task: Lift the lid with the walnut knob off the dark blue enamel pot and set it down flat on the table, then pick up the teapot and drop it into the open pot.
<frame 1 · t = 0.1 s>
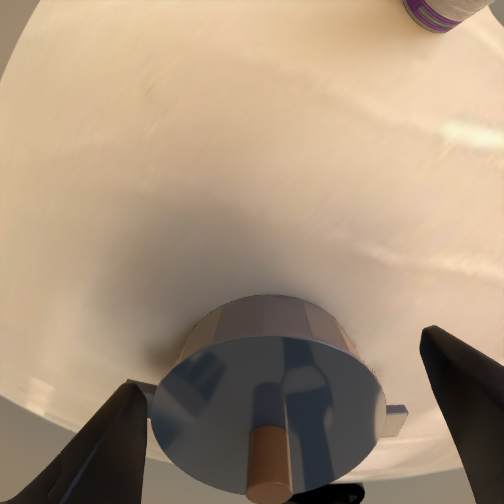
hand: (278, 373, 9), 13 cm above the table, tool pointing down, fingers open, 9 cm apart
container: (427, 10, 17), on the table
lid: (268, 432, 18), point 6 cm above the table, touching pot
pot: (268, 374, 24), on the table
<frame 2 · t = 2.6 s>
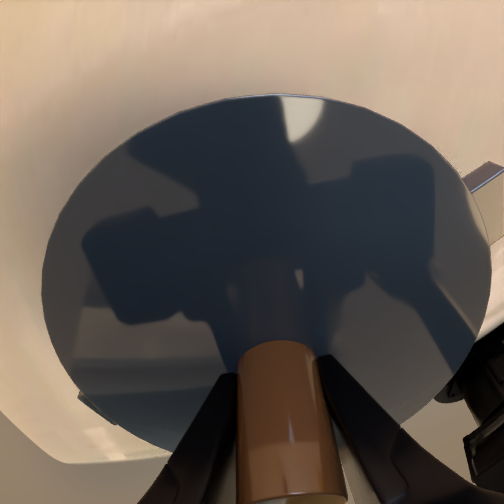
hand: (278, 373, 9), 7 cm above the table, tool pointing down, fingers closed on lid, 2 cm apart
lid: (276, 356, 10), point 7 cm above the table, touching gripper, pot
pot: (264, 256, 15), on the table
when the fingers open (1 cm above the table, at t = 8.3 s): lid stays where it is, point 1 cm above the table.
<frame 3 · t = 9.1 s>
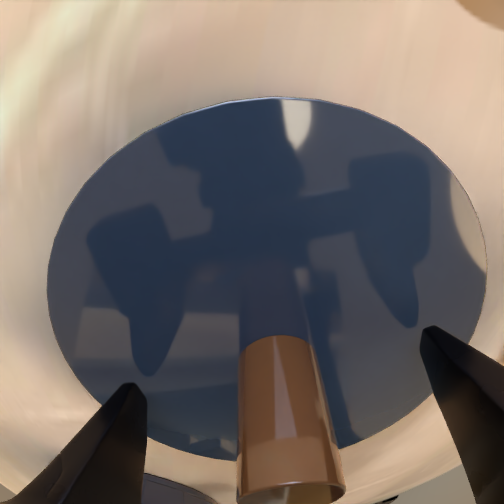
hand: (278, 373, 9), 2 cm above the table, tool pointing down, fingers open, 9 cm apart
lid: (276, 351, 10), point 1 cm above the table
pot: (134, 496, 19), on the table
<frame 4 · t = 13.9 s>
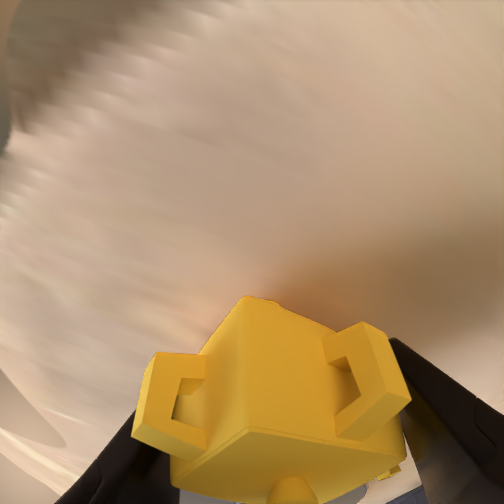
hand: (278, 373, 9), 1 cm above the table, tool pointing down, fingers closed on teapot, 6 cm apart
teapot: (292, 342, 10), on the table, touching gripper
pot: (434, 493, 21), on the table
when the fingers open (3 cm above the table, at t = 20.4 s): teapot drops 2 cm, resting on pot.
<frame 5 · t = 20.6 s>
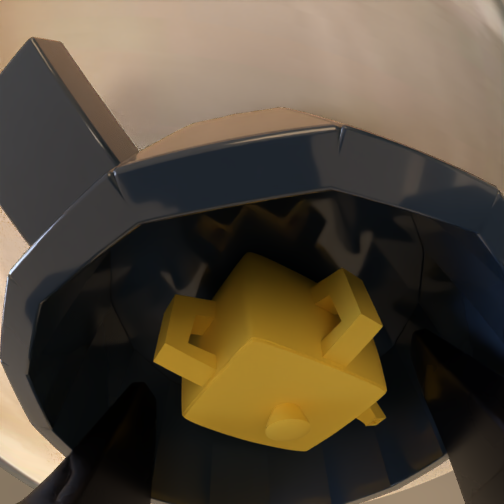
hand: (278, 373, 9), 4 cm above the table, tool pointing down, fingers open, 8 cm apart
teapot: (287, 300, 12), resting on pot
pot: (270, 298, 12), on the table
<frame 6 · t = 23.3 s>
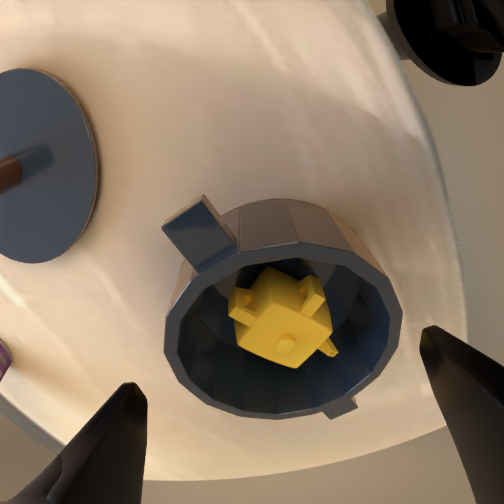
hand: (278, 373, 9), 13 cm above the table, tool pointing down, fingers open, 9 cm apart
teapot: (286, 290, 23), resting on pot
lid: (14, 169, 18), point 1 cm above the table
pot: (277, 289, 23), on the table
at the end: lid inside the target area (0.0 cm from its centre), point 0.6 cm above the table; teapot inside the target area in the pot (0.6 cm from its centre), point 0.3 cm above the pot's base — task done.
